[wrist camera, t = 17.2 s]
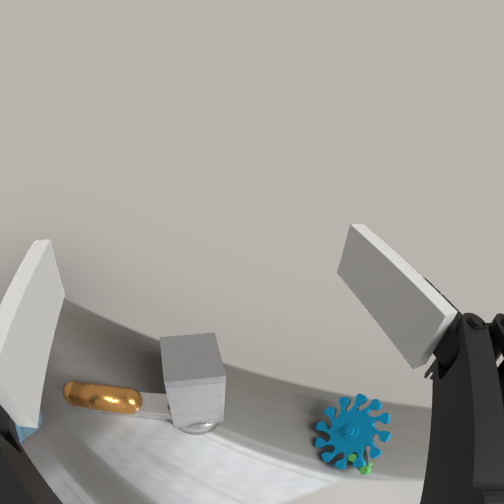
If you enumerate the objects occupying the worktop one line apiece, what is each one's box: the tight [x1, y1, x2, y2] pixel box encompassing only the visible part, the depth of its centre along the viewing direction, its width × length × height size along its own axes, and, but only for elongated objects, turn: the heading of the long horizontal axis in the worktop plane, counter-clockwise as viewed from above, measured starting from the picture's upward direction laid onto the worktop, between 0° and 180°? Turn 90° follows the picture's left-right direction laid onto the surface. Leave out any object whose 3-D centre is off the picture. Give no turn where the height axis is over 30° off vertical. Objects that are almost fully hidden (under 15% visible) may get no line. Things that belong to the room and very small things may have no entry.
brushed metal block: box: [160, 333, 226, 428], centre depth 32 cm, size 6×6×10 cm
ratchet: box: [63, 381, 220, 435], centre depth 33 cm, size 22×7×5 cm, turn 96°
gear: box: [316, 394, 391, 474], centre depth 31 cm, size 11×6×10 cm
